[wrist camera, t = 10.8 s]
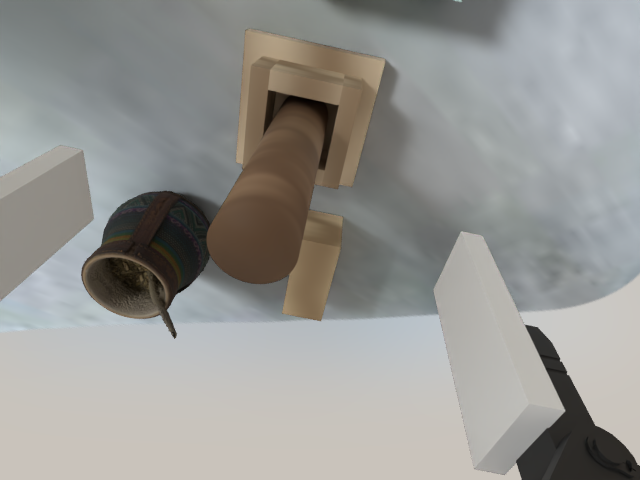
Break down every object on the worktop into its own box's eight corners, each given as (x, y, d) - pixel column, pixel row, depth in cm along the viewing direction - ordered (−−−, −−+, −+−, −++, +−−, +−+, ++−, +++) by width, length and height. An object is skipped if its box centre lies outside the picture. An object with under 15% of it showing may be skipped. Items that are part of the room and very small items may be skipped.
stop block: (289, 279, 33) (281, 313, 29) (303, 208, 29) (296, 238, 25) (324, 286, 33) (320, 321, 30) (343, 216, 29) (340, 247, 26)
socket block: (239, 156, 27) (223, 181, 24) (249, 28, 22) (230, 37, 19) (352, 180, 27) (351, 208, 24) (384, 58, 23) (388, 72, 19)
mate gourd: (128, 166, 28) (32, 245, 20) (231, 194, 29) (179, 282, 20) (130, 245, 32) (50, 337, 24) (220, 268, 33) (173, 366, 24)
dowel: (277, 134, 25) (205, 274, 13) (283, 86, 23) (207, 198, 12) (323, 144, 25) (291, 291, 13) (333, 97, 23) (306, 219, 12)
